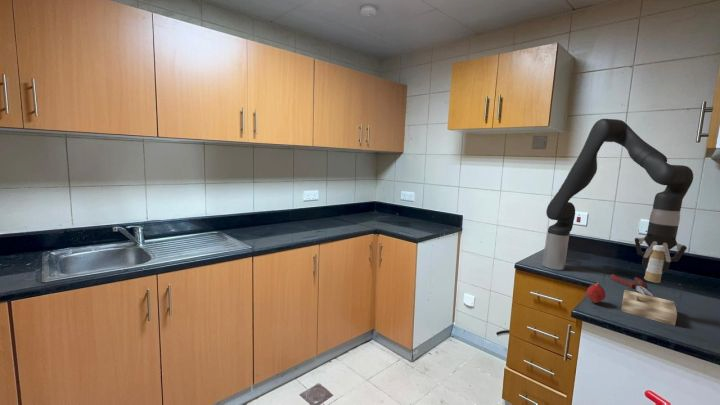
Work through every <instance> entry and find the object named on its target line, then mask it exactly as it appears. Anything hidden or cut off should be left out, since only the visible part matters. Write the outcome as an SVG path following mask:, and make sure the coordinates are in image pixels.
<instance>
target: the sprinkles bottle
mask: <svg viewBox="0 0 720 405" xmlns="http://www.w3.org/2000/svg"><path fill="white" fill-rule="evenodd" d="M664 251H665V247H663V246H661V245H655V246H653V251H652V252H651V253H650V255H649V256H648V263H647V268H645V274H644V277H643V279H644V280H645V281H647V282H651V283H656V284H657V283H659V284H660V283H661V282H662V281H661V279H662V274H663V273H664V272H663V267H664V262H665V259H666V258H665V253H664Z"/></svg>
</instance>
